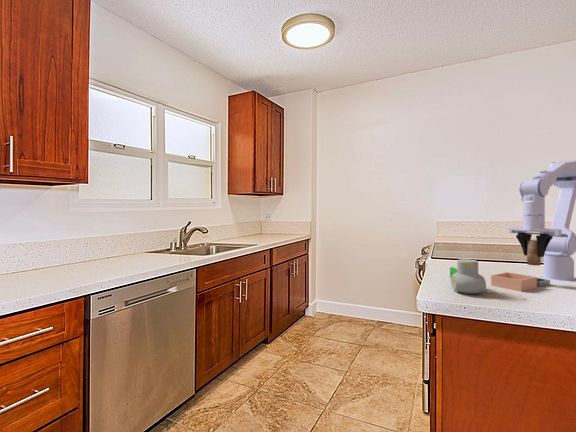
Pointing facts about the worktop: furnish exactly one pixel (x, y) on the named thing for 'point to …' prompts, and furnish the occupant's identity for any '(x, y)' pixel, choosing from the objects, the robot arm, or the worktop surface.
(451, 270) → the pipe clamp
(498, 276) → the terracotta bin
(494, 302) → the worktop surface
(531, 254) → the walnut strut
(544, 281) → the metal socket
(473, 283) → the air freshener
